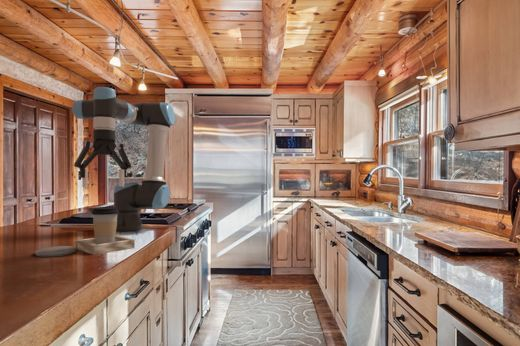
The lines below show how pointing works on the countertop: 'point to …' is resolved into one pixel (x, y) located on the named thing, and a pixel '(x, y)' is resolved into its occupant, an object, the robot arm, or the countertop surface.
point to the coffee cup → (105, 224)
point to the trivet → (55, 251)
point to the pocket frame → (104, 245)
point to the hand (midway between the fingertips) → (104, 186)
